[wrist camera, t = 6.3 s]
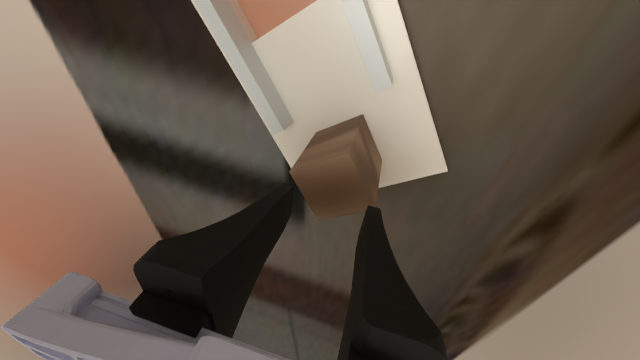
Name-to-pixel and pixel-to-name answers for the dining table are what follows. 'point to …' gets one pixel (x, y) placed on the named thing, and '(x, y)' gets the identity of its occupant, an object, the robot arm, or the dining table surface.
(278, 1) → the channel
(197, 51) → the dining table surface
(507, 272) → the dining table surface
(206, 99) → the dining table surface
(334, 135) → the walnut block
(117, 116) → the dining table surface
